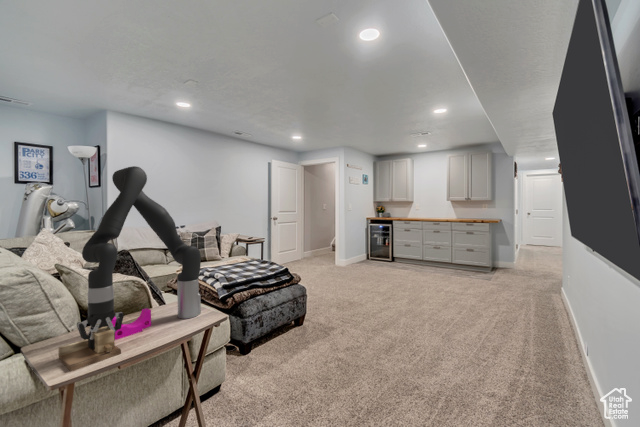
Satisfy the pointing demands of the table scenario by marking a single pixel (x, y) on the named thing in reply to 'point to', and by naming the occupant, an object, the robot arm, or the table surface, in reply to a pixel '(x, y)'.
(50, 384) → the table surface
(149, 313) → the toy block
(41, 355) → the table surface
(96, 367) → the table surface
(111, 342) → the beige rectangular block
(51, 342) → the table surface
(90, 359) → the board
